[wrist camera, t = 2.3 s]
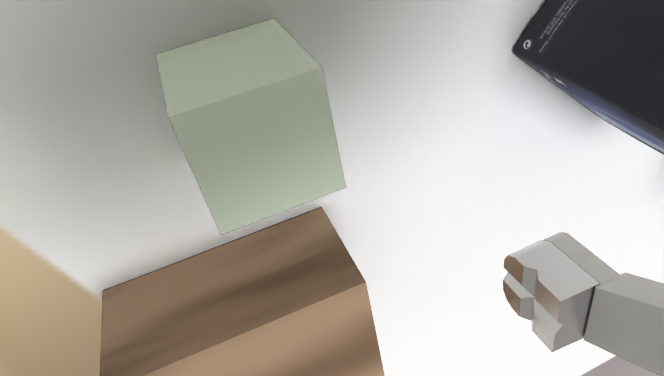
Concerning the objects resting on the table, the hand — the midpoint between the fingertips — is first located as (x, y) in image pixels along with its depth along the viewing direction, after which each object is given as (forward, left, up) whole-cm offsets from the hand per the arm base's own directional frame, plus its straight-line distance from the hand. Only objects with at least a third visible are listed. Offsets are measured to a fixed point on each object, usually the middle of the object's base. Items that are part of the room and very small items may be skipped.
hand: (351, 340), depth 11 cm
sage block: (-1, 0, -14) cm, 14 cm away
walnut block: (+12, -3, -14) cm, 19 cm away
